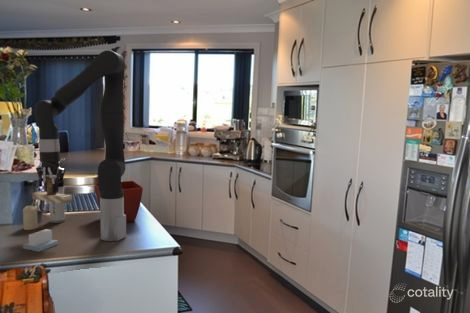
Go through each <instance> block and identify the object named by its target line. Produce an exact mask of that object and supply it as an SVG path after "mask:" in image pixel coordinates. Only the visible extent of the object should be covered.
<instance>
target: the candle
mask: <svg viewBox="0 0 470 313" xmlns="http://www.w3.org/2000/svg"><path fill="white" fill-rule="evenodd" d="M22 221H23V223H22V224H23V230H25V231H32V230H36V229H38V226H39V225H38V208H37V207H36V206H34V205H33V204H31V205H27V206H24V207H23V209H22Z"/></svg>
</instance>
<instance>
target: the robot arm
mask: <svg viewBox="0 0 470 313" xmlns="http://www.w3.org/2000/svg"><path fill="white" fill-rule="evenodd" d="M125 69H126V64H125V60H124V58H123V56H122V55H121V54H120V53H118V52H115V51H114V50H112V49H111V50H109V49H108V50H103V51H101V52H99V54H98V55H96V57H95V58H94V59H93V60H92V61H91V62H90V63H89V64H88V65H87V66H86V67H85V68H84V69H83V70H82V71H80V73H79V74H77V75H76V76H75V77H73V78H72V79H70V80H69V81H68V82H66V83H65V84H64V85H63V86H61V87H60V88H59V89H57V90H56V91H55V93H54V96H52V97H51V98H50V99H41V100H39V101H38V102H37V103H36V104H35V106H34V115H35V121H36V125H37V127H38V136H39V142H38V152H39V162H40V163H41V165H40V166H37V167H36V168H35V170H36V173H37V175H38V179H39V181H40V182H43V184H44V188H43V189H44V192H47V183H46V178H51V179H52V183H53V184H52V189H53V193H57V192H58V191H59V188H58V187H59V186H58V184H59V182H62V181H63V180H64V177H65V174H66V168H62V167H61V166H60V162H61V150H60V149H61V148H60V138H59V128H58V126H57V124H55V122H54V118H55V117H58V116H60V114H61V113H63V112H64V111H65V110H66V109H67V108H68V106H70V105H71V104H73V103H74V102H76V101H77V100H78V99H79V98H81V97H82V96H83V95H84V94H85V93H86V92H87V91H88V90H89V89H90V87H91V86H92V85H94V83H95V82H97V81H98V80H101V79H102V78H104V91H103V95H102V98H101V102H100V107H99V121H100V122H99V124H100V129H101V134H102V137H103V139H104V144H105V152H104V154H105V156H104V159H103V160H102V161H101V162H100V163H99V164H98V166H97V183H98V189H99V192H100V208H99V211H100V215H99V216H100V218H99V219H100V221H99V222H100V239H101V240H102V241H105V242H118V241H120V240H122V239H125V238H126V237H127V222H126V215H124V191H123V189H122V187H121V182H122V176H124V174H125V172H126V160H125V152H124V151H125V150H124V138H125V137H124V136H125V134H124V133H125V129H124V128H125V110H124V109H125V106H124V104H125V101H124V80H125V79H124V78H125V71H126V70H125ZM55 179H56V180H55Z"/></svg>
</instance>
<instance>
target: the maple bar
mask: <svg viewBox="0 0 470 313" xmlns="http://www.w3.org/2000/svg"><path fill="white" fill-rule="evenodd" d="M55 180H56V179H55ZM46 183H47V192H45V191H44V190H43V191H40V190H39V191H36V192H35V191H34V192H32V199H33V200H37V201H38V200H39V201H45V202H50V201H51V202H58V203H64V204H68V203H71V202H73V196H72V194H66V193H64V194H58V193H53V189H52V184H53V183H52V179H51V178H46Z"/></svg>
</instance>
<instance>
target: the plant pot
mask: <svg viewBox="0 0 470 313" xmlns="http://www.w3.org/2000/svg"><path fill="white" fill-rule="evenodd" d="M93 185H94V192H95V196H96V201H97V204H98V206H99V209H100V192H99V189H98V182H96V183H94V184H93ZM121 187H122V189H123V191H124V215H126V223H131V222H135V221H136V219H137V217H138V216H137V215H138V213H139V209H140V206H141V202H142V196H143V190H144V187H143V186H142V185H140V184H138V183H137V182H136V181H135V180H123V181H122V180H121Z"/></svg>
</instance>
